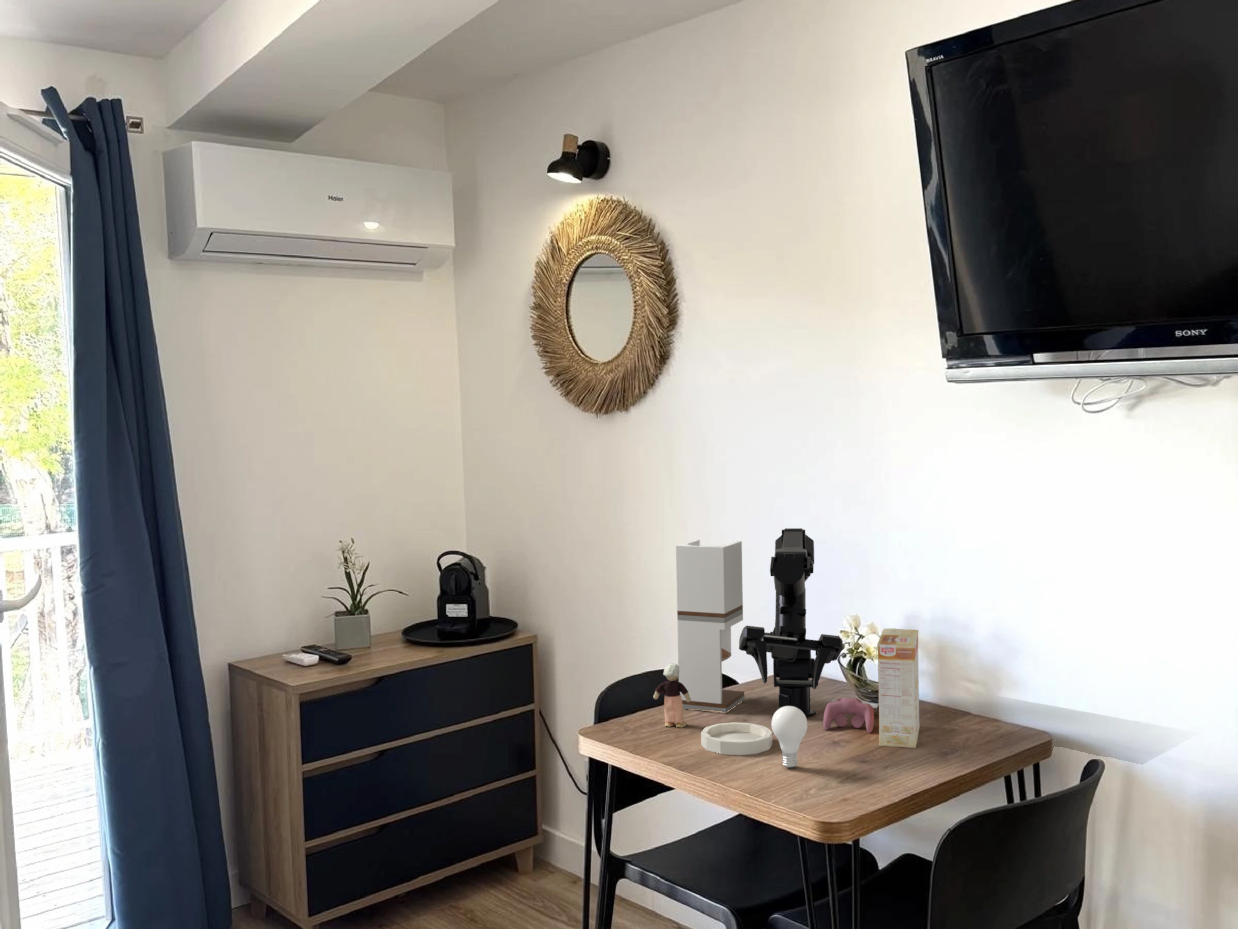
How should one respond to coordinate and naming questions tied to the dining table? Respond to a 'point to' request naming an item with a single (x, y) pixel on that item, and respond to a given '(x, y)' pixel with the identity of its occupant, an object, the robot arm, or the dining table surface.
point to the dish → (736, 738)
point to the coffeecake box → (898, 688)
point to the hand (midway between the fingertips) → (790, 685)
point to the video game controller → (849, 705)
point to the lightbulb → (789, 732)
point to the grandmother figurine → (672, 696)
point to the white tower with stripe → (707, 620)
